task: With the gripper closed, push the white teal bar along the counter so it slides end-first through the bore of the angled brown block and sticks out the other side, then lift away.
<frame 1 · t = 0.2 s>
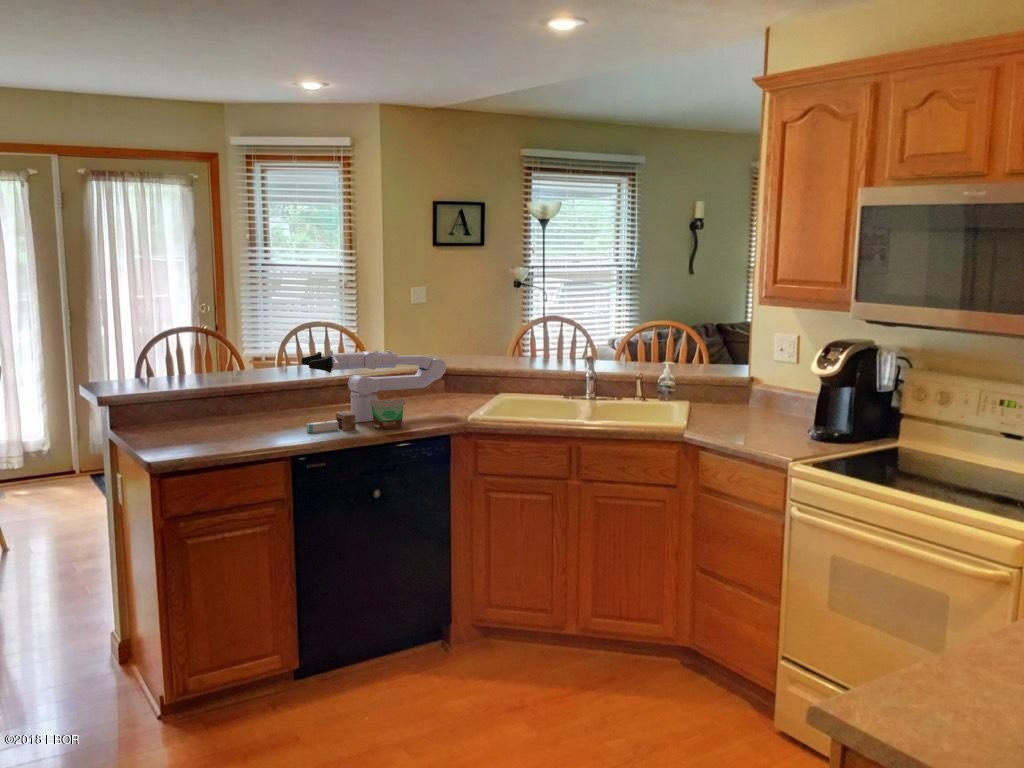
hand: (305, 363, 292), 22 cm above the counter, fingers open, 7 cm apart
food container: (390, 429, 290), on the counter
angled brown block: (345, 428, 292), on the counter
white teal bar: (322, 430, 288), on the counter
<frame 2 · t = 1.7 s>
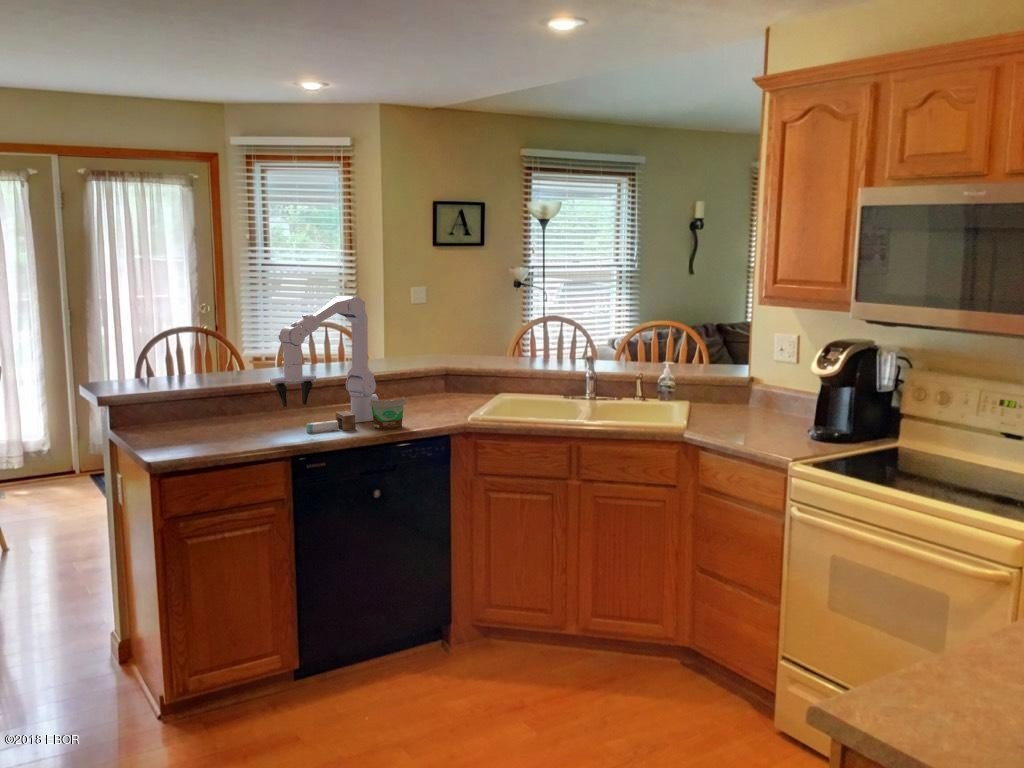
hand: (294, 405, 282), 9 cm above the counter, fingers open, 6 cm apart
nothing on the counter moved.
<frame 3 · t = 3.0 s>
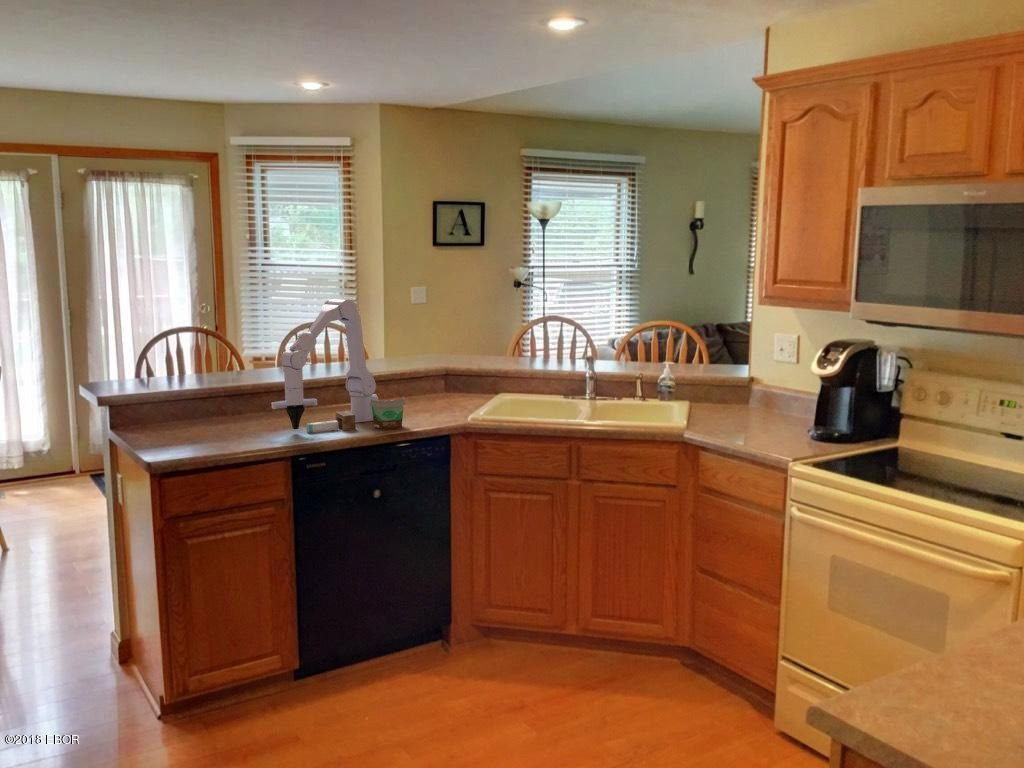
hand: (295, 428, 283), 2 cm above the counter, fingers closed
nothing on the counter moved.
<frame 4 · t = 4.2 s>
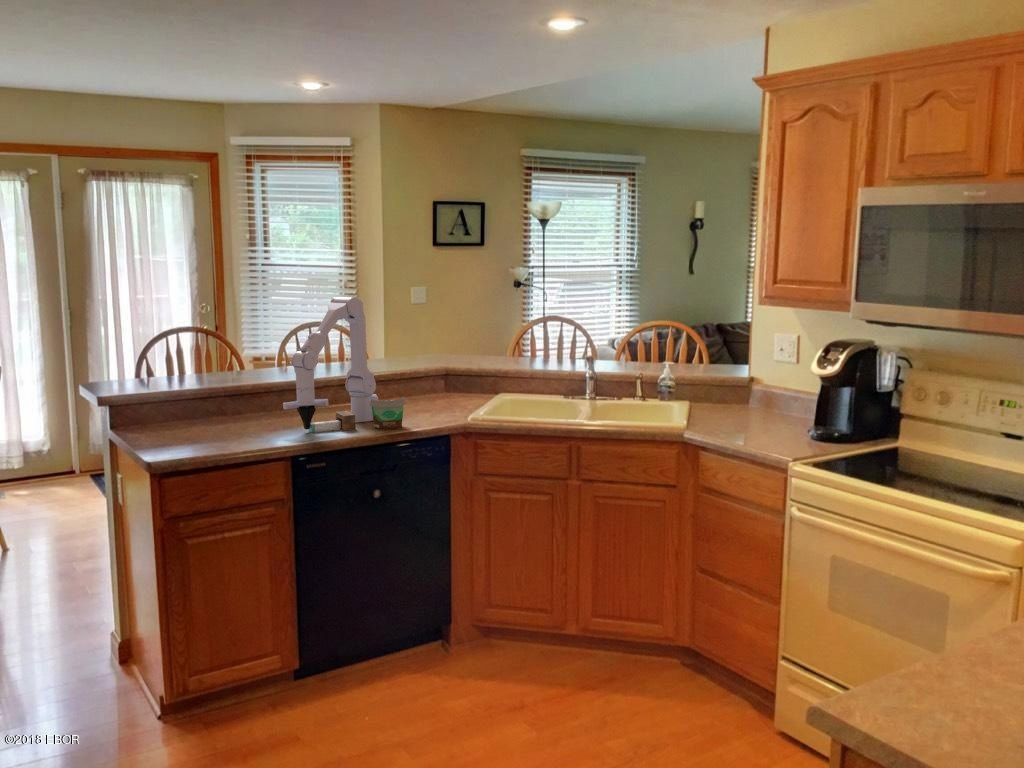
hand: (306, 428, 285), 1 cm above the counter, fingers closed
white teal bar: (324, 430, 288), on the counter, touching gripper
everything else where it was.
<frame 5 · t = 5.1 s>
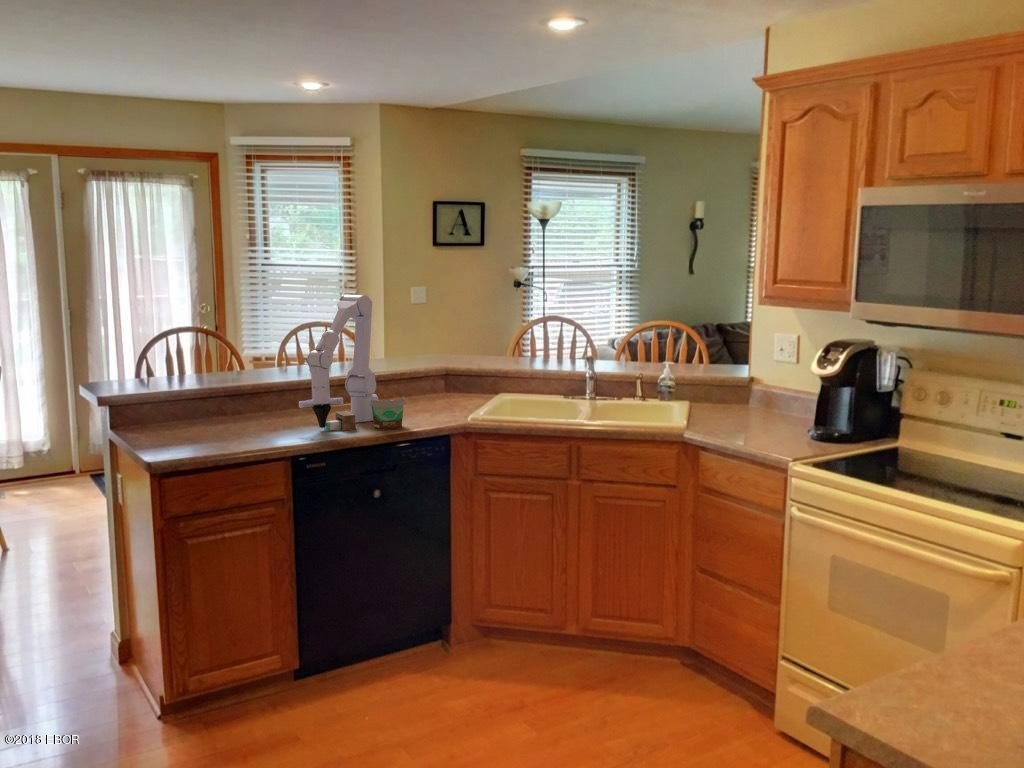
hand: (322, 427, 287), 1 cm above the counter, fingers closed
white teal bar: (339, 428, 291), on the counter, touching gripper
everything else where it was.
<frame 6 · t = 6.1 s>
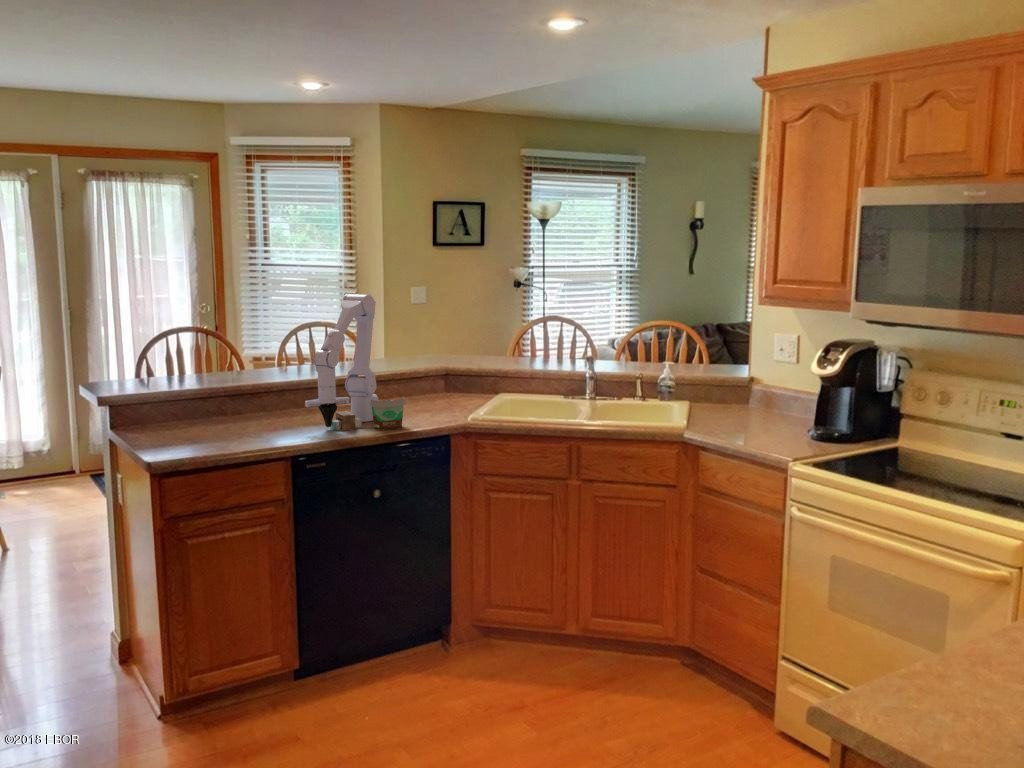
hand: (328, 426, 289), 1 cm above the counter, fingers closed
white teal bar: (346, 428, 292), on the counter, touching gripper
everything else where it was.
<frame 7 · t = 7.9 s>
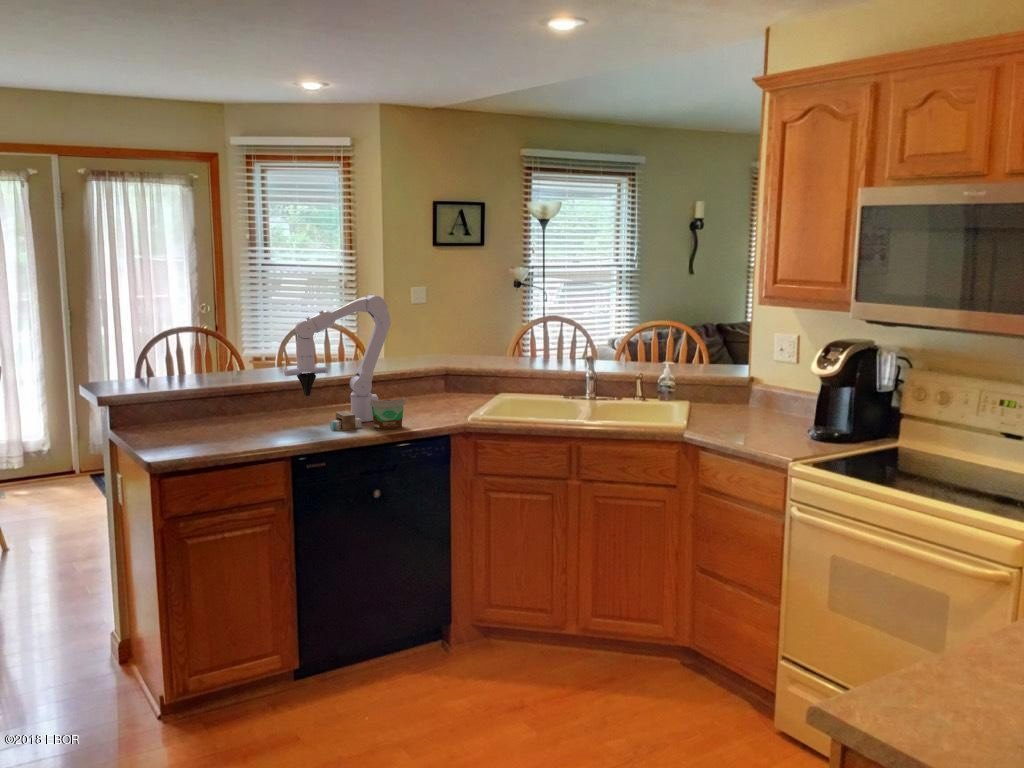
hand: (307, 395, 297), 10 cm above the counter, fingers closed
white teal bar: (346, 428, 292), on the counter
everything else where it was.
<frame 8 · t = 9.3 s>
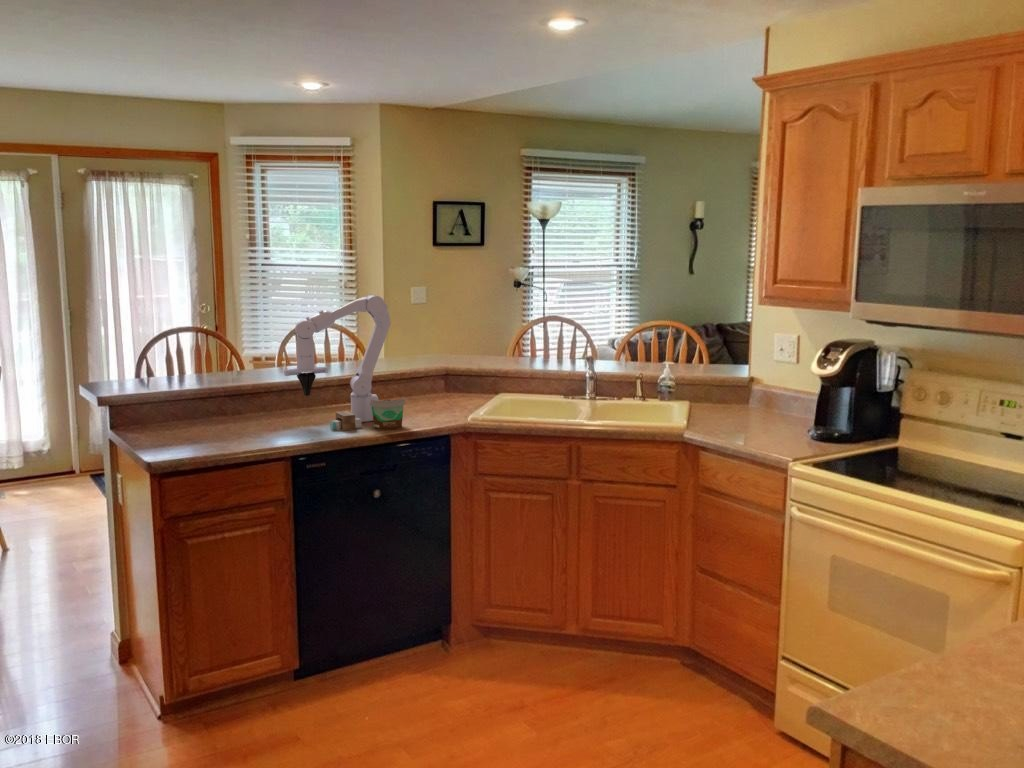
hand: (307, 395, 298), 10 cm above the counter, fingers closed
nothing on the counter moved.
at the end: white teal bar 0.1 cm off-centre on the angled brown block, point 0.0 cm above the angled brown block's base; white teal bar tilted 0° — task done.
